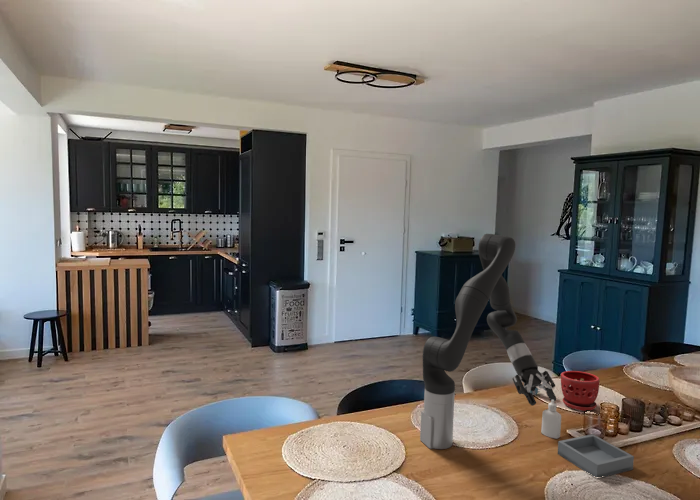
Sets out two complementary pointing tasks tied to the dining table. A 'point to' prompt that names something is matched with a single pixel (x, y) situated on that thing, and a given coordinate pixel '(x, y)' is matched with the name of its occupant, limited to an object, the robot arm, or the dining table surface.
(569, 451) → the tray
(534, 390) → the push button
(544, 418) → the eye dropper bottle
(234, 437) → the dining table surface
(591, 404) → the plant pot
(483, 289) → the robot arm
